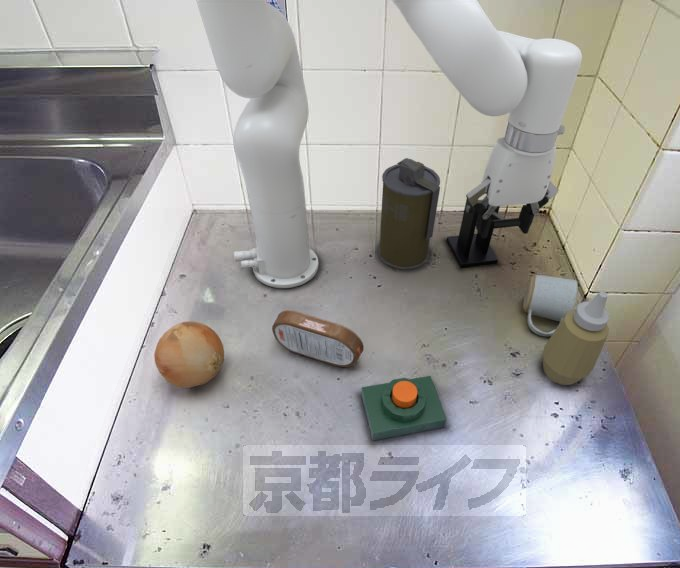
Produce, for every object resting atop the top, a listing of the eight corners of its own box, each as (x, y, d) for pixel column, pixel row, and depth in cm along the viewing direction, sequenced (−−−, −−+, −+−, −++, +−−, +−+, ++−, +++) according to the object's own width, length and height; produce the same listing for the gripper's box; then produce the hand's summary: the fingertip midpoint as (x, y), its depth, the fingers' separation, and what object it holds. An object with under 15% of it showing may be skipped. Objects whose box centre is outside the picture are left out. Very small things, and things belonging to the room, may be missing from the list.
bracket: (496, 264, 96) (512, 211, 87) (460, 268, 95) (472, 215, 85) (480, 237, 102) (494, 185, 93) (446, 241, 101) (456, 188, 91)
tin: (363, 361, 78) (365, 328, 72) (356, 376, 76) (357, 343, 70) (281, 336, 81) (275, 301, 74) (272, 349, 78) (266, 315, 72)
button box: (372, 440, 68) (373, 426, 65) (361, 395, 73) (362, 380, 70) (444, 427, 70) (448, 413, 67) (428, 383, 76) (431, 368, 73)
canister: (367, 253, 96) (370, 163, 82) (399, 231, 102) (408, 143, 87) (408, 278, 92) (420, 188, 77) (440, 253, 98) (456, 165, 83)
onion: (216, 404, 71) (200, 364, 63) (153, 394, 72) (130, 353, 64) (239, 355, 77) (227, 313, 70) (181, 345, 78) (164, 303, 71)
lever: (519, 229, 82) (521, 216, 81) (493, 232, 81) (494, 219, 80) (490, 210, 93) (491, 198, 91) (466, 213, 92) (467, 200, 90)
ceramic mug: (522, 293, 91) (533, 263, 85) (565, 302, 90) (580, 272, 84) (518, 333, 84) (530, 303, 78) (564, 343, 83) (580, 314, 77)
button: (395, 410, 68) (396, 403, 66) (389, 389, 70) (390, 382, 69) (419, 405, 68) (420, 399, 67) (412, 385, 71) (413, 379, 69)
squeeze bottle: (587, 396, 75) (638, 320, 62) (536, 386, 76) (575, 309, 63) (583, 357, 81) (629, 280, 68) (535, 348, 82) (571, 270, 68)
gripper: (569, 120, 75) (537, 214, 88) (467, 126, 71) (448, 223, 84) (594, 143, 70) (555, 239, 83) (485, 151, 66) (463, 249, 80)
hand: (502, 230), depth 84 cm, fingers open, 7 cm apart
